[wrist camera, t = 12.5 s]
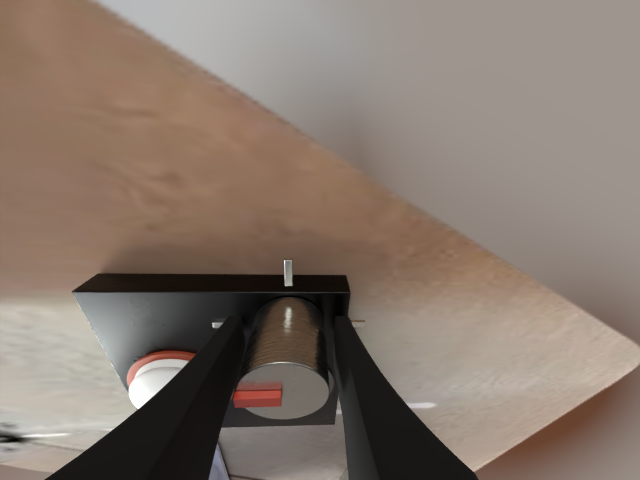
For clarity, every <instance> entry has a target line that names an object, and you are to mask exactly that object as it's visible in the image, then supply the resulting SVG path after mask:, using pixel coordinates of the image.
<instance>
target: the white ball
mask: <svg viewBox="0 0 640 480" xmlns="http://www.w3.org/2000/svg"><path fill="white" fill-rule="evenodd" d="M339 480H349V478H348V468H347V469H346V470H345V471H344V473H343V475H342V476H341V478H340V479H339Z"/></svg>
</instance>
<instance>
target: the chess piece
mask: <svg viewBox="0 0 640 480" xmlns="http://www.w3.org/2000/svg"><path fill="white" fill-rule="evenodd" d="M188 362H189V361H187V360H181V359H162V360H156V361H153V362H150V363H148V364H146V365H144V366H143V367H141V368H140V369H139V370H138V371H137V373H136V375H135V378H134V380H133V381H132V383H131V384H130V387H129V397H130V399H131V401H132V403H133V404H134V405H135V407H136V408H138V409H139V408H140V407H141V406H143V405H144V404H145V403H146V402H147V401H148V400H150V399H151V398H152V397H153V396H154V395H155V394H156V393H157V392H158V391H160V390H161V389H162V388H163V387H164V386H165V385H166V384H167V383H168V382H169V381H170V380H171V379H172V378H173V377H174V376H175V375H176V374H177V373H178V372H179V371H180V370H181V369H182V368H183V367H184V366H185V365H186V364H187V363H188Z"/></svg>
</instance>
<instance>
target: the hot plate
mask: <svg viewBox="0 0 640 480" xmlns="http://www.w3.org/2000/svg"><path fill="white" fill-rule="evenodd" d="M284 274H285V275H233V274H97V275H95V276H94V277H92V278H91V279H89V280H88V281H86V282H85V283H84V284H82V285H81V286H79V287H78V288H76V289H75V290H73V291H72V294H73V295H74V297H75V299H76V301H77V303H78V304H79V306H80V308H81V310H82V312H83V313H84V315H85V317H86V319H87V321H88V322H89V324H90V326H91V328H92V330H93V331H94V333H95V335H96V337H97V339H98V340H99V342H100V344H101V346H102V348H103V349H104V351H105V353H106V355H107V357H108V358H109V360H110V362H111V364H112V366H113V367H114V369H115V371H116V373H117V375H118V376H119V378H120V380H121V382H122V384H123V385H124V387H125V389H126V391H127V393H128V394H129V386H128V383H127V375H128V371H129V370H130V368H131V367H132V365H133V364H134V363H135V362H136V361H137V360H139V359H140V358H142V357H144V356H146V355H148V354H151V353H155V352H161V351H184V352H190V353H194V354H196V353H197V352H198V351H199V350H200V349H201V348H202V347H203V346H204V344H205V343H206V342H207V341H208V340H209V339H210V338H211V336H212V335H213V334H214V333H215V332H216V330H217V329H218V328H219V327H220V326H221V324H222V323H223V322H224V321H225V319H226V318H227V317H228V316H242V323H243V330H244V336H245V343H246V346H245V351H244V355H245V352H246V348H247V345H248V341H249V338H250V334H251V331H252V327H253V324H254V320H255V317H256V314H257V312H258V311H259V309H260V308H261V307H262V306H263V305H265V304H266V303H268V302H269V301H272V300H274V299H277V298H282V297H296V298H301V299H304V300H307V301H309V302H311V303H313V304H314V305H315V306H316V307H318V309H319V310H320V311H321V313H322V314H323V317H324V321H325V333H326V346H327V359H328V368H329V369H330V371H331V372H332V374H333V378H334V386H333V390H332V392H331V393H330V395H329V397H328V399H327V401H326V403H325V404H324V405H323V406H322V407H321V408H320V409H318V410H317V411H315V412H313V413H311V414H309V415H306V416H303V417H299V418H294V419H271V418H266V417H262V416H259V415H256V414H254V413H252V412H250V411H248V410H247V409H245V408H235V405H234V401H233V398H234V394H235V387H236V384H235V387H234V393H233V396H232V399H231V400H230V402H229V405H228V408H227V411H226V414H225V417H224V420H223V424H222V427H221V428H225V427H261V426H297V425H332V424H335V417H336V409H337V400H338V386H337V380H336V374H335V368H334V358H333V336H334V325H335V316H348V309H349V301H350V289H349V285H348V281H347V277H346V275H293V265H292V259H284ZM350 321H351V323H352V325H353V327H364V325H365V321H364V320H350ZM243 359H244V356H243ZM242 362H243V360H242ZM241 366H242V365H241ZM239 373H240V372H239ZM238 376H239V375H238ZM237 380H238V378H237ZM236 383H237V381H236ZM136 409H137V410H138V408H136Z"/></svg>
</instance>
